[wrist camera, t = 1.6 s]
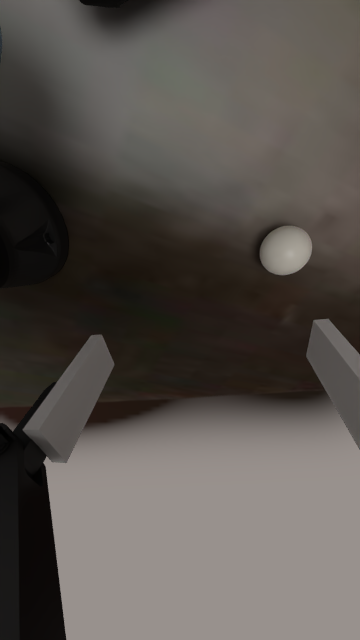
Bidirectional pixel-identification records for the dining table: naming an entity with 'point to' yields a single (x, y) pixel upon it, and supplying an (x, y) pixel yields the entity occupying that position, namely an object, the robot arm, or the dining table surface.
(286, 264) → the ivory ball
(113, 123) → the dining table surface
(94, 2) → the portable speaker
